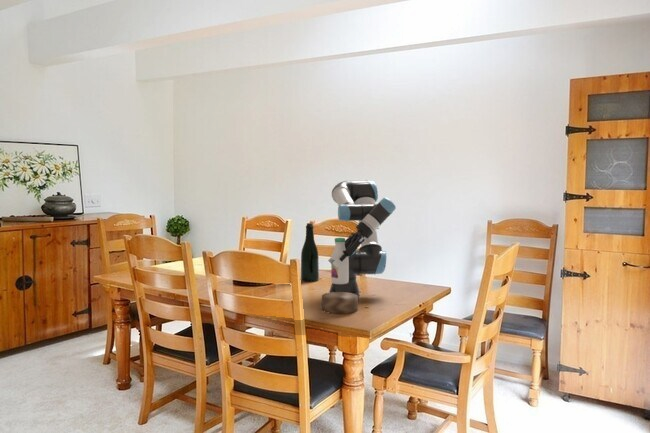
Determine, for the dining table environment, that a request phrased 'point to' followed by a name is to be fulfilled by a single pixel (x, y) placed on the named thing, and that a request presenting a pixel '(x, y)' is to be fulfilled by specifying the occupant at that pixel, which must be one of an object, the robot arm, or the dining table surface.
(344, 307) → the walnut stand
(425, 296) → the dining table surface
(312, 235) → the dark green wine bottle
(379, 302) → the dining table surface
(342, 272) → the milk bottle
